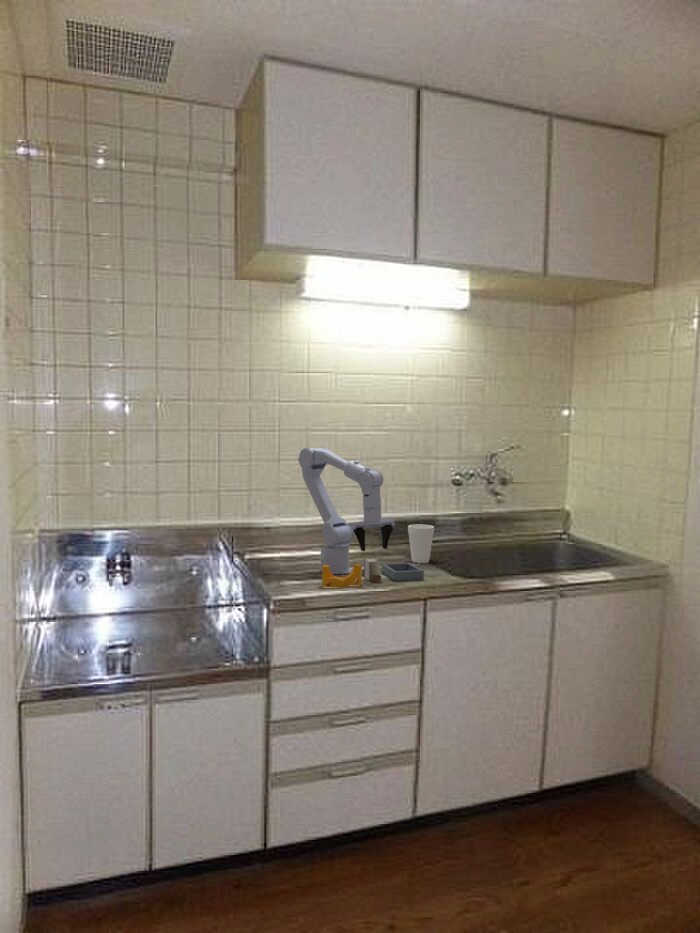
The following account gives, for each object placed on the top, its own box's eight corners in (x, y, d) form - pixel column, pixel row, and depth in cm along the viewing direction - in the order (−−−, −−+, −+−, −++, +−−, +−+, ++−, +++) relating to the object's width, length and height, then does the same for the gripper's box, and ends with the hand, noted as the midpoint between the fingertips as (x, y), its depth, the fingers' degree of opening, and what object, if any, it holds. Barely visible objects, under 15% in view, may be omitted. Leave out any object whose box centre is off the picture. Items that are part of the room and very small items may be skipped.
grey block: (370, 581, 211) (370, 562, 210) (363, 576, 217) (364, 558, 217) (379, 580, 211) (379, 562, 211) (372, 576, 218) (372, 558, 218)
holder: (372, 582, 209) (372, 576, 209) (362, 575, 219) (362, 569, 219) (381, 582, 210) (381, 576, 209) (370, 574, 220) (370, 568, 220)
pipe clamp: (324, 589, 201) (324, 568, 201) (321, 585, 205) (322, 565, 205) (362, 587, 203) (362, 566, 203) (359, 584, 207) (359, 564, 207)
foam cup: (407, 563, 238) (408, 528, 238) (407, 558, 248) (407, 524, 247) (434, 564, 238) (434, 528, 237) (432, 559, 247) (433, 524, 246)
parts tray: (394, 581, 211) (394, 572, 211) (381, 572, 223) (381, 563, 223) (423, 579, 214) (423, 570, 213) (409, 571, 226) (409, 562, 226)
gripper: (355, 510, 208) (357, 553, 208) (397, 507, 212) (399, 549, 213) (348, 508, 214) (349, 550, 214) (389, 505, 219) (390, 546, 219)
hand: (374, 549), depth 214 cm, fingers open, 7 cm apart
